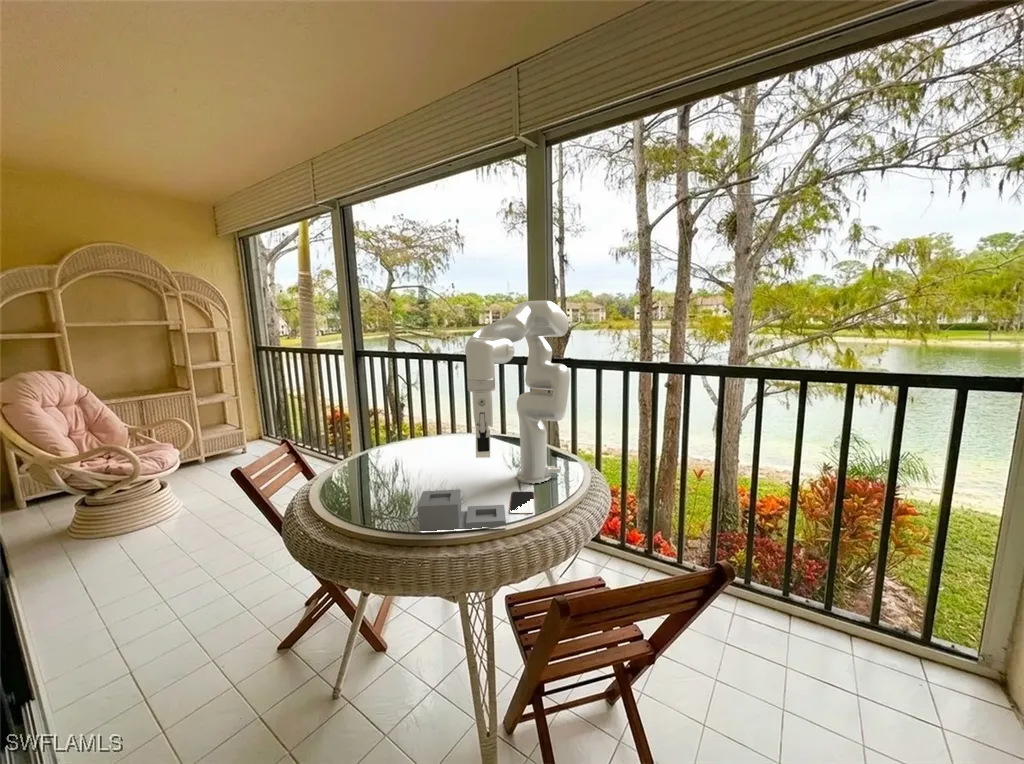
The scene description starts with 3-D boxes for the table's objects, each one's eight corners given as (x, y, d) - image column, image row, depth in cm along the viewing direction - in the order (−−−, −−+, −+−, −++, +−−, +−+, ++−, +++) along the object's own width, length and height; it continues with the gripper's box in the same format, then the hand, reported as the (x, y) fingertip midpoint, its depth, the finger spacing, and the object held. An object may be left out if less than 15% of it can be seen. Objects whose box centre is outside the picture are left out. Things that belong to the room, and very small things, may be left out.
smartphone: (534, 491, 141) (533, 512, 126) (534, 493, 141) (534, 514, 126) (512, 491, 141) (509, 512, 127) (512, 494, 142) (509, 514, 127)
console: (504, 512, 128) (503, 487, 126) (506, 528, 118) (505, 502, 117) (424, 516, 126) (422, 491, 125) (419, 533, 116) (417, 506, 115)
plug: (490, 453, 121) (490, 423, 119) (490, 457, 118) (490, 426, 116) (476, 453, 121) (475, 424, 119) (475, 457, 117) (475, 427, 116)
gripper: (495, 389, 108) (497, 458, 111) (494, 379, 124) (496, 440, 127) (466, 390, 108) (469, 459, 111) (468, 380, 124) (471, 441, 127)
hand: (483, 448), depth 119 cm, fingers closed on plug, 3 cm apart
